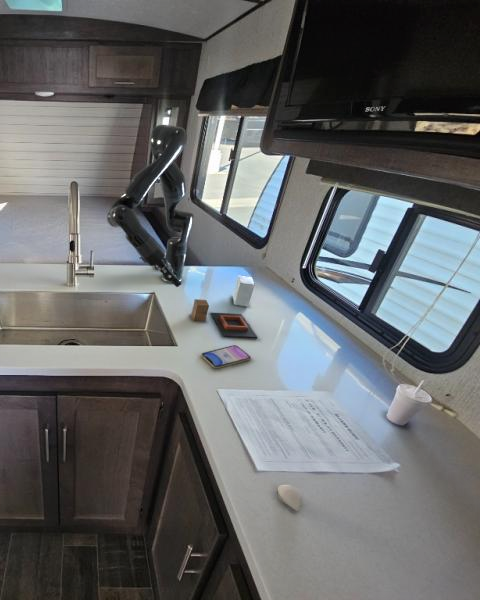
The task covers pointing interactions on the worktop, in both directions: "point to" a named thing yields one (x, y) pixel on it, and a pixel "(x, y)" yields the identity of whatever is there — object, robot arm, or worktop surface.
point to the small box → (243, 290)
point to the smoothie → (407, 403)
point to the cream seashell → (290, 496)
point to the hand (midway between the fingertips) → (177, 280)
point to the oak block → (200, 310)
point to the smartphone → (225, 356)
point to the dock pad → (233, 325)
